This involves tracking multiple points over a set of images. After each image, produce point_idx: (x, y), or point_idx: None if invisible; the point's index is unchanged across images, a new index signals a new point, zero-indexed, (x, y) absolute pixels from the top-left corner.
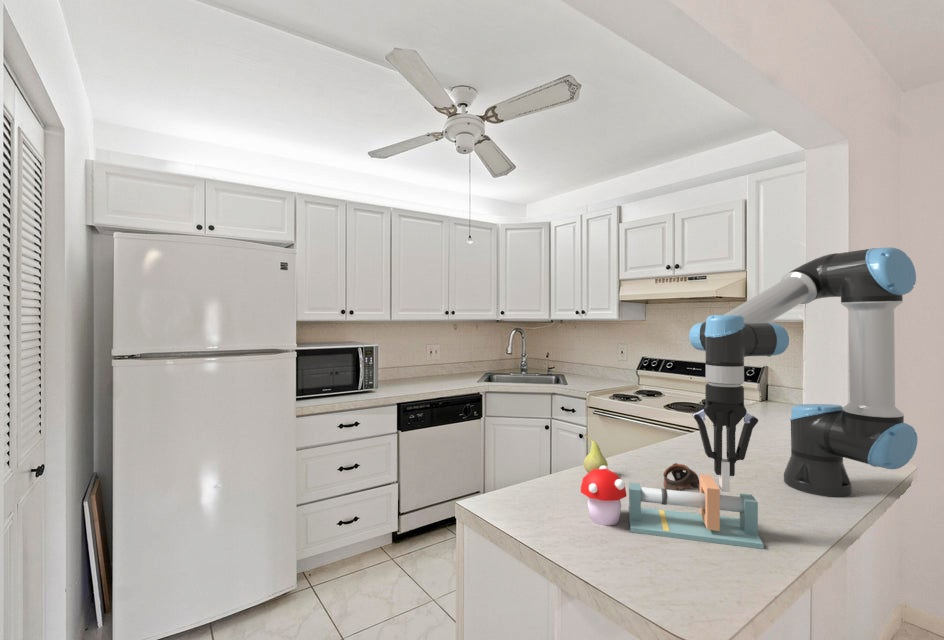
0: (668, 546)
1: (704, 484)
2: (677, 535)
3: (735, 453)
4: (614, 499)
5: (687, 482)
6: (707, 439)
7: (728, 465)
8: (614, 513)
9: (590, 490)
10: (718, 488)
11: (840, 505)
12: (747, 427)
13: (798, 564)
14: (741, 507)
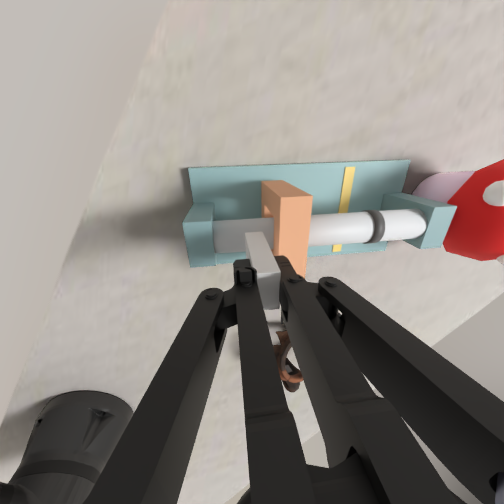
0: (353, 119)
1: (307, 234)
2: (331, 162)
3: (230, 321)
4: (486, 167)
5: (284, 340)
6: (385, 332)
7: (257, 267)
8: (443, 180)
9: None
10: (282, 203)
11: (59, 370)
12: (137, 495)
13: (135, 120)
14: (218, 221)
